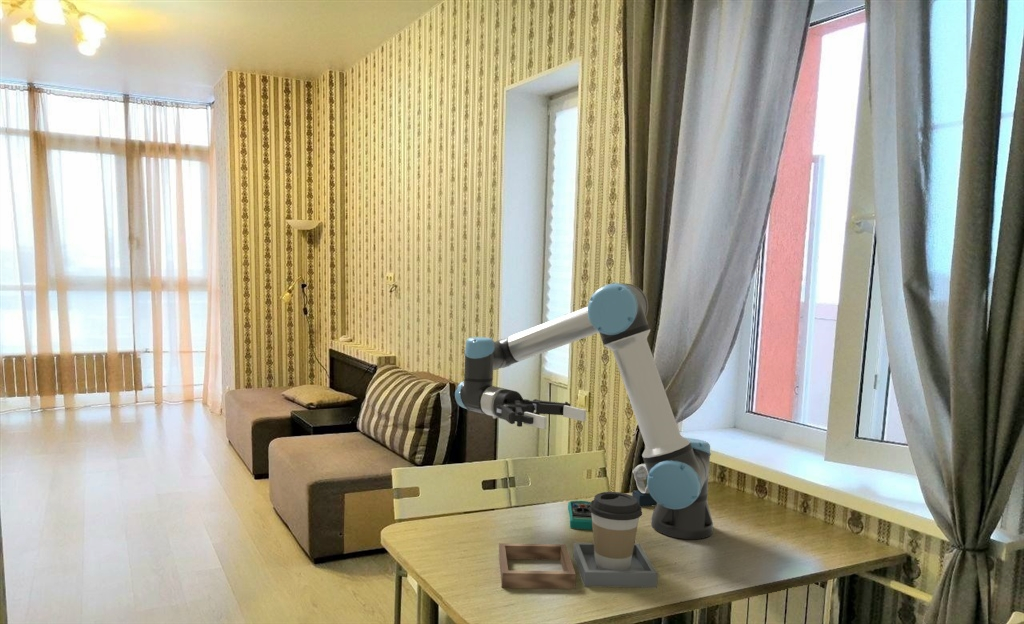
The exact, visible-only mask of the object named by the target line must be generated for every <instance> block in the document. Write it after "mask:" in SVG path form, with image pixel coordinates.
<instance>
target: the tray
mask: <svg viewBox="0 0 1024 624" xmlns="http://www.w3.org/2000/svg"><path fill="white" fill-rule="evenodd" d="M572 554H573V555H572V556H573V559H574V561H575V564H576V567H577V569H578V570H577V571H578V573H579V575H580V578H581V581H582V584H583V587H586V588H587V587H588V588H589V587H590V588H591V587H595V588H597V587H598V588H599V587H601V588H603V587H605V588H606V587H607V588H611V587H612V588H657V587H658V571H657V570H656V569H655V567H654V565H653V563H652V561H651V560H650V559H649V557H648V555H647V554H646V552H645V550H644V549H643V547H642V545H641V544H640V543H634V548H633V554H632V559H631V565H630V567H629V570H628V571H621V570H599V569H598V568H597V566H596V562H595V553H594V542H573V553H572Z"/></svg>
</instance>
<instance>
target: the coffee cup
mask: <svg viewBox="0 0 1024 624" xmlns="http://www.w3.org/2000/svg"><path fill="white" fill-rule="evenodd" d="M590 502H591V503H590V507H589V510H590V512H591V514H592V527H593V530H592V537H593V540H592V541H593V543H594V553H595V562H596V566H597V568H598V569H599V570H621V571H628V570H629V567H630V565H631V559H632V554H633V548H634V543H635V541H636V537H637V530H638V525H639V520H640V517H641V516H642V515H643V512H642V509H643V508H642V507H641V506H640V505H639V504H638V500H637V499H636V498H635V497H633V496H632V494H629V493H624V492H620V491H619V492H618V491H605V492H599V493H597V494H595V495H594V497H593V500H591V501H590ZM635 544H636V543H635Z"/></svg>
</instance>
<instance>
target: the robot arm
mask: <svg viewBox="0 0 1024 624" xmlns="http://www.w3.org/2000/svg"><path fill="white" fill-rule="evenodd" d="M648 311H649V302H648V297H647V296H646V294H645V293H644V291H643V290H642V289H641V288H639V287H637V286H636V285H634V284H631V283H618V282H613V283H610V284H609V283H608V284H606V285H603V286H602V287H600V288H598V289H596V291H594V292H593V294H592V295H591V297H590V298H589V301H588V304H587V306H585V307H582V308H579V309H577V310H573V311H572V312H569V313H567V314H564V315H562V316H558V317H556V318H553V319H550V320H548V321H546V322H543V323H540V324H537V325H536V326H532V327H529V328H528V329H525V330H521V331H520V332H516V333H515V334H512V335H510V336H507V337H504V338H500V339H499V340H496V341H494V340H493V339H494V338H491V337H485V336H484V337H483V336H482V337H481V336H475V337H473V336H472V337H469V338H467V339H466V341H465V350H464V379H463V381H461V382H459V383H458V385H457V386H456V387H457V388H456V390H455V392H454V397H455V398H454V399H455V401H456V402H455V403H456V404H457V405H458V406H459V407H461V408H463V409H466V410H467V411H470V412H475V413H479V414H483V415H487V416H490V417H492V419H495V420H496V419H497V418H498V419H501V420H504V421H506V422H508V423H509V424H511V425H514V424H515V423H516V427H519V428H520V427H523V424H524V425H527V426H531V427H534V428H537V429H542V430H546V429H547V422H548V420H547V417H548V416H545V415H553V416H563V418H568V419H572V420H575V421H578V422H579V421H580V422H583V423H584V422H586V421H587V409H583V408H580V407H575V406H571V403H568V401H565V402H558V401H557V402H556V401H550V400H549V401H548V400H540V399H537V398H534V399H533V400H530V399H529V398H528V399H525V398H523V396H522V395H521V393H519V392H518V391H516V390H513V389H507V388H503V387H500V386H499V387H498V386H494V385H493V382H494V381H493V380H494V371H496V370H499V369H504V368H507V367H510V366H511V365H514V364H516V363H518V362H521V361H524V360H527V359H530V358H533V357H536V356H538V355H541V354H545V353H546V352H549V351H552V350H555V349H557V348H560V347H563V346H565V345H569V344H570V343H571V344H572V343H574V342H577V341H580V340H582V339H584V338H588V337H590V336H593V335H596V334H599V335H600V338H601V341H602V344H603V347H604V348H607V349H608V350H611V351H612V355H613V357H614V359H615V362H616V365H617V368H618V371H619V374H620V376H621V379H622V383H623V386H624V387H625V388H624V389H625V391H626V394H627V396H628V399H629V403H630V406H631V408H632V410H633V413H634V417H635V420H636V423H637V425H638V429H639V431H640V435H641V437H642V440H643V442H644V445H645V446H644V450H643V452H642V454H641V456H642V459H643V463H644V464H645V466H646V469H647V471H648V476H647V477H646V486H647V487H648V490H649V493H650V495H651V496H652V498H653V499H654V500H655V501H656V502H657V504H656V506H654V510H653V512H652V514H651V522H650V523H651V527H652V528H653V529H654V530H655V531H656V532H658V533H660V534H662V533H663V535H665V536H668V537H672V538H676V539H683V540H701V538H702V539H706V538H709V537H710V536H712V535H713V530H714V528H713V527H714V522H713V518H712V515H711V509H710V507H709V504H708V493H709V477H710V476H709V474H710V460H711V459H710V458H711V455H712V453H711V444H710V443H709V442H707V441H706V440H703V439H696V438H691V437H684V436H682V435H681V433H680V429H679V427H678V425H677V421H676V418H675V415H674V413H673V410H672V407H671V404H670V400H669V398H668V396H667V392H666V390H665V387H664V385H663V382H662V378H661V376H660V373H659V370H658V368H657V365H656V362H655V359H654V356H653V353H652V350H651V348H650V344H649V342H648V337H649V335H650V332H651V328H650V325H649V322H648V320H647V316H648ZM708 536H709V537H708ZM705 537H706V538H705Z"/></svg>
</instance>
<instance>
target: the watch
mask: <svg viewBox="0 0 1024 624" xmlns="http://www.w3.org/2000/svg"><path fill="white" fill-rule="evenodd" d="M632 474H633V477H634V480H635V483H636V487H637V490H632V492H631V493H632V494H631V496H633V497H635V498H636V499H637V500H638V504H639V505H640V506H641V507H653V506H652V505H656V504H657V502H656V501H655V500H654V499H653V498H652V496H651V495H650V493H649V490H648V487H647V485H645V480H647V476H648V471H647V469H646V466H645V463H641V464H638V465H637V466H635V467H634V468H633V470H632Z"/></svg>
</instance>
